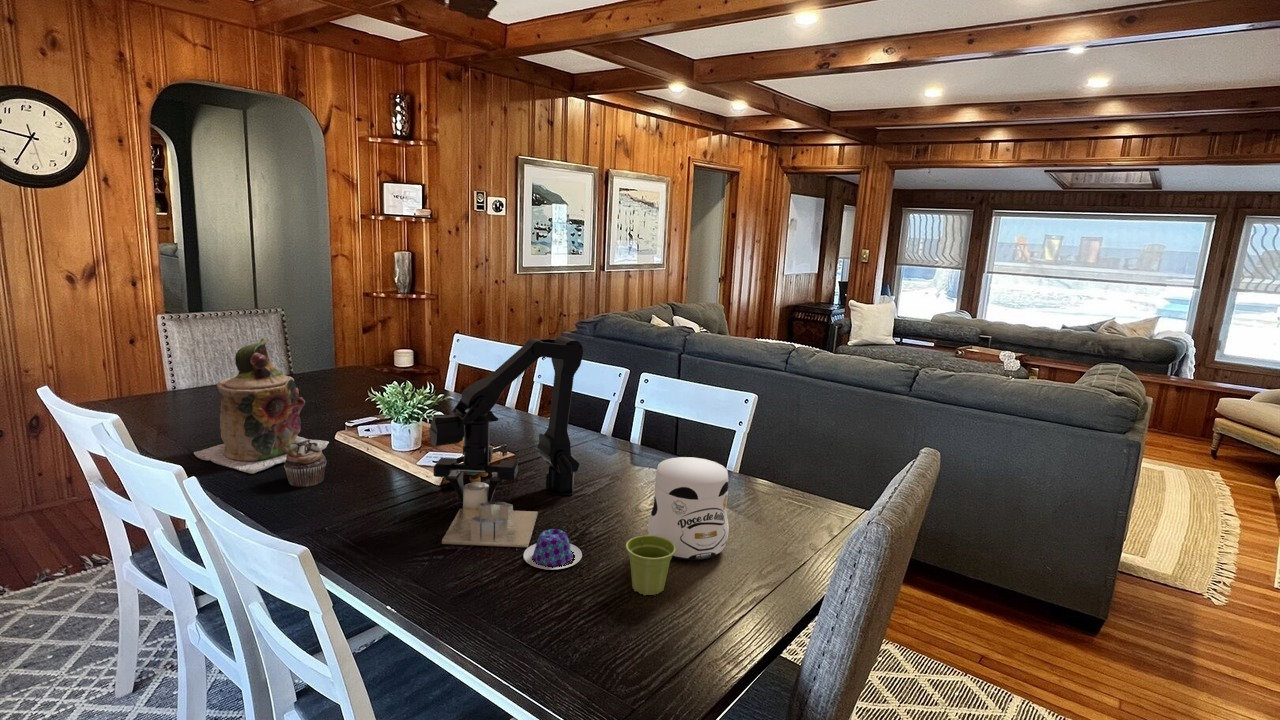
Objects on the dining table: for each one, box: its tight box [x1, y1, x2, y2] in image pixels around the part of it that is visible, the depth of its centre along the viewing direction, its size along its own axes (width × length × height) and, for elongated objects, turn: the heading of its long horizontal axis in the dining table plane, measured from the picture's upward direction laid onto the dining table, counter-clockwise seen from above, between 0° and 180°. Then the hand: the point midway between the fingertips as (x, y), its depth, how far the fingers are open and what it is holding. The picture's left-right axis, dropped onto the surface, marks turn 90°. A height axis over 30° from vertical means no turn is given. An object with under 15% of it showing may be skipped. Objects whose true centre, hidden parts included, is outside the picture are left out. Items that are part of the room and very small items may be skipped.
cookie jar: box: [193, 337, 330, 474], centre depth 182 cm, size 25×25×32 cm
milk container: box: [647, 456, 730, 561], centre depth 143 cm, size 17×17×18 cm
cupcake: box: [283, 439, 328, 488], centre depth 167 cm, size 10×10×10 cm
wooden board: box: [441, 500, 539, 548], centre depth 148 cm, size 18×16×4 cm
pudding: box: [523, 528, 583, 571], centre depth 137 cm, size 12×12×5 cm
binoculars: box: [456, 456, 489, 483], centre depth 175 cm, size 9×11×10 cm
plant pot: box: [625, 534, 676, 596], centre depth 127 cm, size 9×9×9 cm
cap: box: [462, 482, 489, 509], centre depth 158 cm, size 6×6×6 cm
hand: (476, 502), depth 159 cm, fingers closed on cap, 6 cm apart
